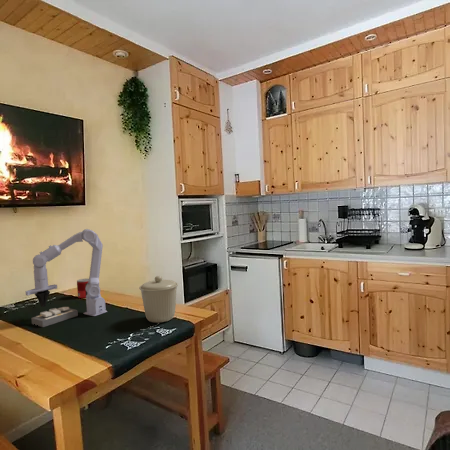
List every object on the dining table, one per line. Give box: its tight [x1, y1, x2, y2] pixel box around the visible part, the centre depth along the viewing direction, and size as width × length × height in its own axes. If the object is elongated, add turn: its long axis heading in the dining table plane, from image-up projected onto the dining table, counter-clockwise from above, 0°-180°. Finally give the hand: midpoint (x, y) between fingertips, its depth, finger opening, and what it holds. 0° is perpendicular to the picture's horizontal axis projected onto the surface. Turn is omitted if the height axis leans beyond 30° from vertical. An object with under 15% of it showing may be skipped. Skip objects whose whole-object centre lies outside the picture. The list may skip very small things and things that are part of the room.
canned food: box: [76, 278, 89, 300], centre depth 210 cm, size 8×8×11 cm
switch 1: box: [39, 310, 52, 317], centre depth 163 cm, size 5×3×1 cm, turn 57°
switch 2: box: [48, 307, 61, 315], centre depth 167 cm, size 5×3×1 cm, turn 57°
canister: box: [139, 275, 179, 324], centre depth 160 cm, size 18×18×21 cm
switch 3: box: [57, 306, 70, 311], centre depth 171 cm, size 5×3×1 cm, turn 57°
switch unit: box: [31, 307, 79, 328], centre depth 167 cm, size 10×18×3 cm, turn 147°
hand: (43, 306), depth 164 cm, fingers closed
